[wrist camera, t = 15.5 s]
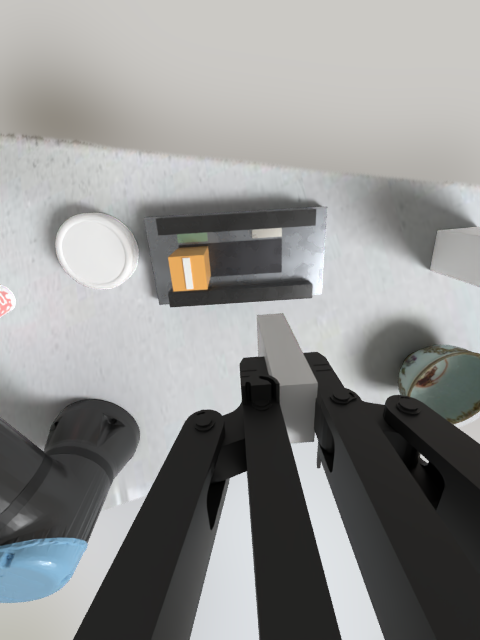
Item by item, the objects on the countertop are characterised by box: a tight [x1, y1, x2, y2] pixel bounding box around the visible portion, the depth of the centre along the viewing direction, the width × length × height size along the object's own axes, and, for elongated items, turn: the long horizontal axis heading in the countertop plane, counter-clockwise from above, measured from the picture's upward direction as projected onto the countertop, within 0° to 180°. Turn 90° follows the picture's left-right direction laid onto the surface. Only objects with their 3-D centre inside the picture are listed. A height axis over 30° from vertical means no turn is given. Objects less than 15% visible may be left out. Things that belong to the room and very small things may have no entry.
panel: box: [144, 207, 327, 307], centre depth 38 cm, size 24×12×4 cm, turn 93°
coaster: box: [55, 213, 139, 289], centre depth 38 cm, size 10×10×4 cm
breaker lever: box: [168, 246, 211, 292], centre depth 35 cm, size 4×4×7 cm
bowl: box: [398, 345, 480, 424], centre depth 45 cm, size 14×13×8 cm
